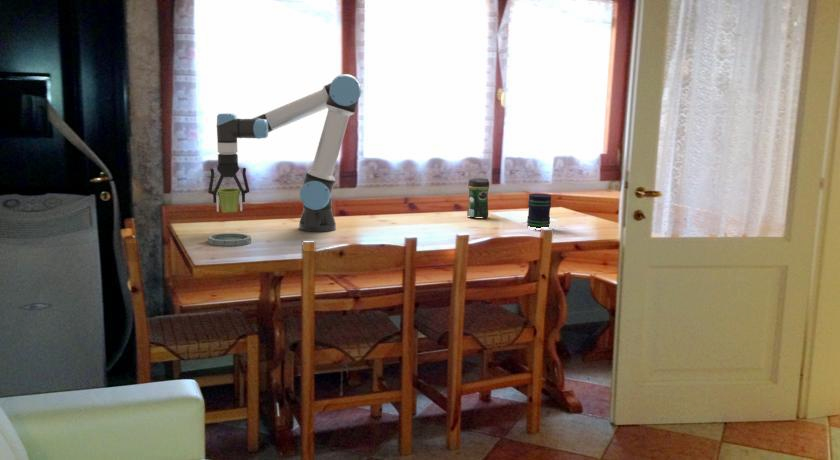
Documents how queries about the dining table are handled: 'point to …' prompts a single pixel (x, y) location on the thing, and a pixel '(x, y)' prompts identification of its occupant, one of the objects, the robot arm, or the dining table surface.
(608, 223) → the dining table surface
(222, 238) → the saucer
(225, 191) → the plant pot
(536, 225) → the storage jar
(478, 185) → the coffee jar
